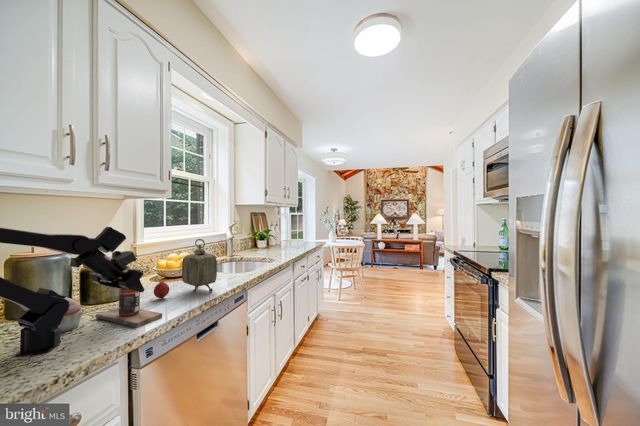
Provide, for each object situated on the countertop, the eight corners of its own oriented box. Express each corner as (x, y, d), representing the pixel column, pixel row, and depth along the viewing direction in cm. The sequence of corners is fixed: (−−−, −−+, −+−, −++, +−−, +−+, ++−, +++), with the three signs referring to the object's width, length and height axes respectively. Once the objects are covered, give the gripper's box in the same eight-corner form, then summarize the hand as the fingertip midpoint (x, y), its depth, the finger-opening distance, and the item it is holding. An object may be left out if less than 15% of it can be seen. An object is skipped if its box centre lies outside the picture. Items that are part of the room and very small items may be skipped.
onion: (161, 301, 110) (162, 282, 110) (150, 300, 111) (150, 281, 111) (172, 297, 116) (172, 279, 116) (160, 296, 117) (161, 278, 117)
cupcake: (54, 324, 86) (54, 294, 86) (89, 321, 89) (90, 291, 89) (35, 337, 77) (36, 303, 77) (75, 332, 81) (76, 299, 81)
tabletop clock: (216, 291, 125) (217, 239, 125) (199, 296, 117) (200, 240, 117) (197, 287, 132) (198, 237, 133) (180, 291, 124) (181, 238, 125)
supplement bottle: (142, 313, 93) (143, 281, 93) (123, 318, 88) (124, 284, 88) (134, 309, 96) (135, 278, 96) (115, 314, 91) (116, 281, 91)
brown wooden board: (134, 328, 84) (134, 323, 84) (95, 318, 91) (95, 314, 91) (162, 317, 93) (162, 313, 93) (124, 309, 100) (124, 305, 100)
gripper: (138, 245, 86) (168, 272, 96) (102, 242, 92) (133, 268, 103) (111, 274, 78) (146, 300, 88) (73, 269, 85) (110, 294, 95)
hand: (134, 289), depth 94 cm, fingers open, 9 cm apart
